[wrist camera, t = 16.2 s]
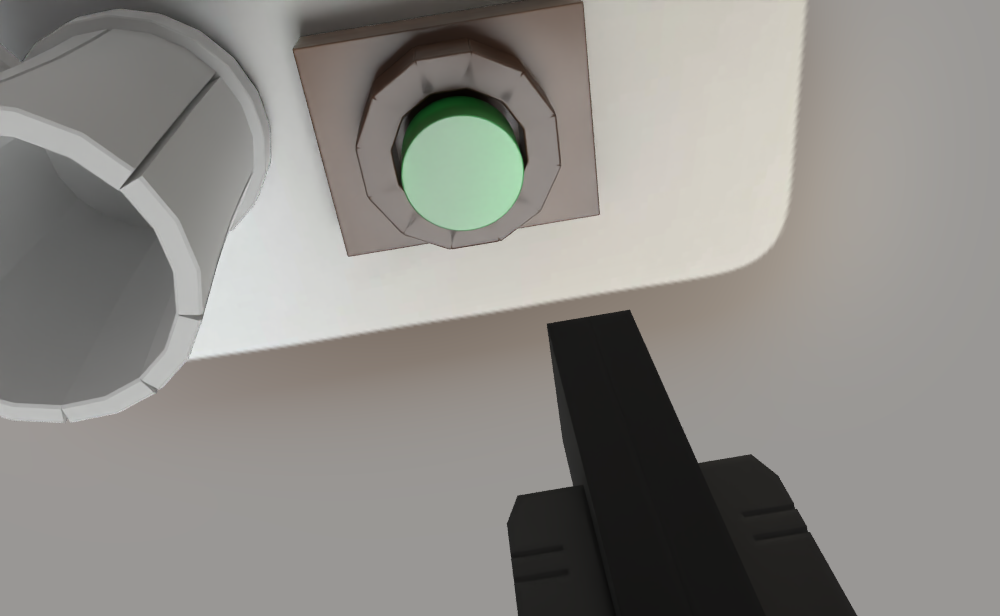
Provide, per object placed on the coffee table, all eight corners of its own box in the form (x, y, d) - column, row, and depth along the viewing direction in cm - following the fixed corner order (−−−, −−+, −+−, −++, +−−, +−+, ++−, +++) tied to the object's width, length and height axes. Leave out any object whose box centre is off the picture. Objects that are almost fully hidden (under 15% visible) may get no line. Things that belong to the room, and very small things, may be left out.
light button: (508, 86, 26) (516, 104, 25) (523, 196, 28) (531, 220, 27) (391, 105, 26) (389, 125, 24) (413, 214, 28) (414, 240, 27)
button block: (573, -9, 28) (595, 12, 25) (590, 195, 33) (611, 237, 29) (299, 36, 28) (283, 63, 25) (351, 235, 32) (343, 281, 29)
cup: (-25, 198, 30) (-251, 382, 20) (-30, -51, 26) (-320, 18, 16) (256, 258, 33) (183, 450, 22) (293, 39, 28) (224, 149, 18)
